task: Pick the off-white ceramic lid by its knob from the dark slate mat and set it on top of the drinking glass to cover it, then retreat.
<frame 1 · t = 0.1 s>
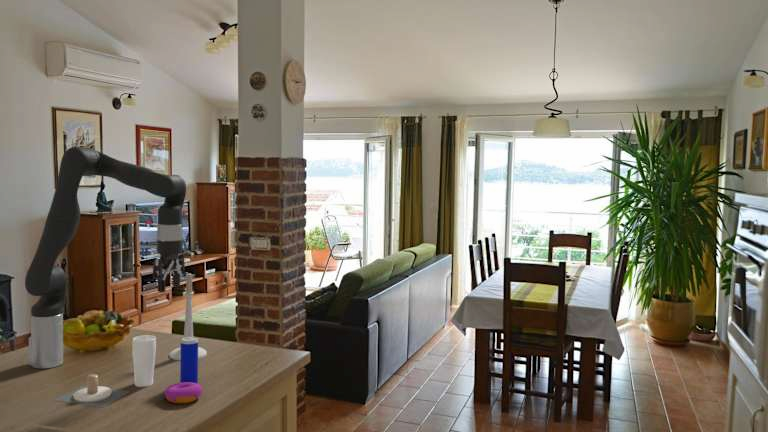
hand: (169, 289, 189), 29 cm above the table, fingers open, 8 cm apart
drinking glass: (144, 386, 185), on the table
mat: (92, 397, 174), on the table
beverage can: (188, 386, 187), on the table
donut: (183, 400, 176), on the table
lid: (92, 395, 174), point 1 cm above the table, touching mat
candlestick: (188, 355, 216), on the table
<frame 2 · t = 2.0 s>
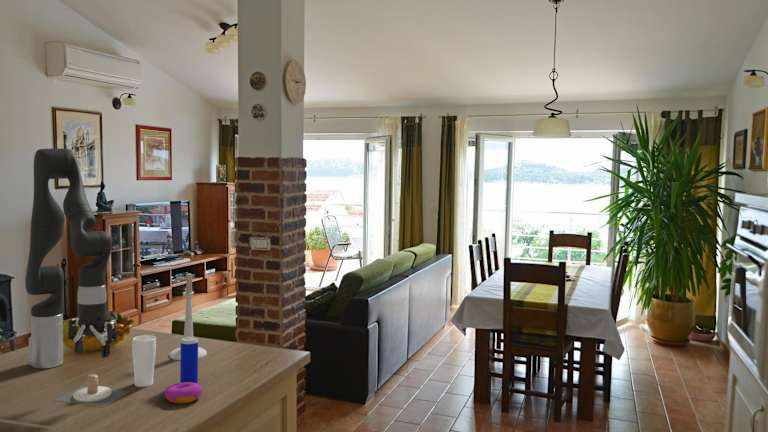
hand: (92, 355, 173), 13 cm above the table, fingers open, 8 cm apart
nothing on the table moved.
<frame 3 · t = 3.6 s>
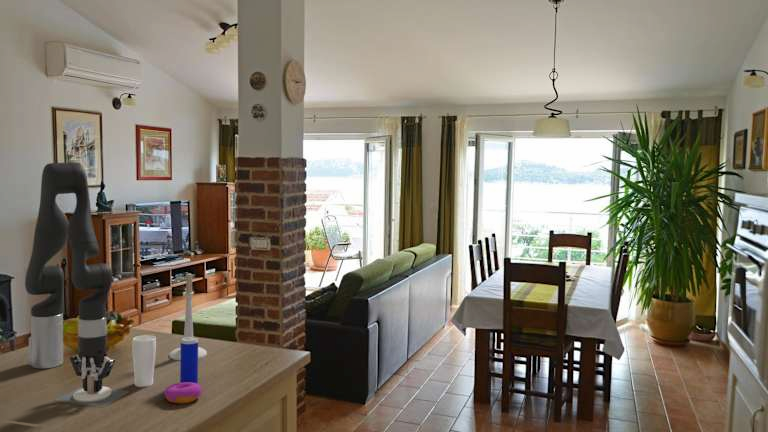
hand: (92, 390, 174), 2 cm above the table, fingers closed on lid, 2 cm apart
lid: (92, 395, 174), point 1 cm above the table, touching gripper, mat
everything else where it was.
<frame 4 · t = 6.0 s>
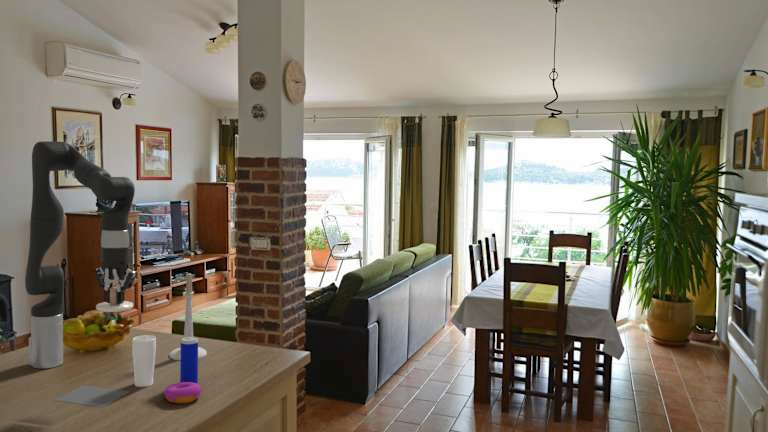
hand: (115, 302, 177), 27 cm above the table, fingers closed on lid, 2 cm apart
lid: (114, 307, 177), point 26 cm above the table, touching gripper
everything else where it was.
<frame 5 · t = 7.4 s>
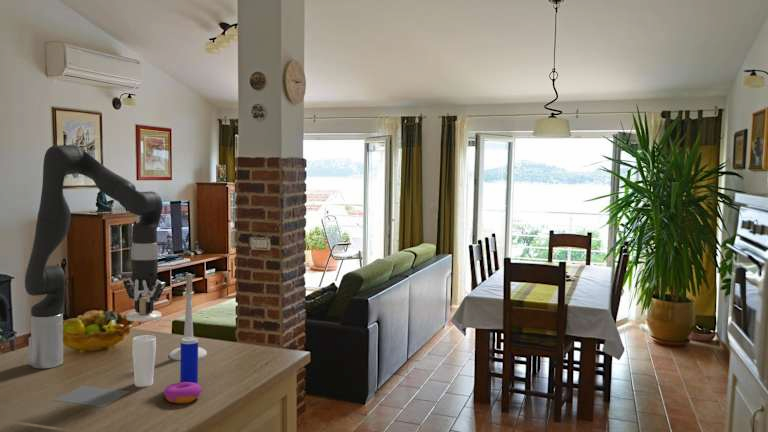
hand: (144, 312, 184), 23 cm above the table, fingers closed on lid, 2 cm apart
lid: (144, 317, 184), point 21 cm above the table, touching gripper
everything else where it was.
when the fingers open (18 cm above the table, at t = 8.5 s): lid drops 2 cm, resting on drinking glass.
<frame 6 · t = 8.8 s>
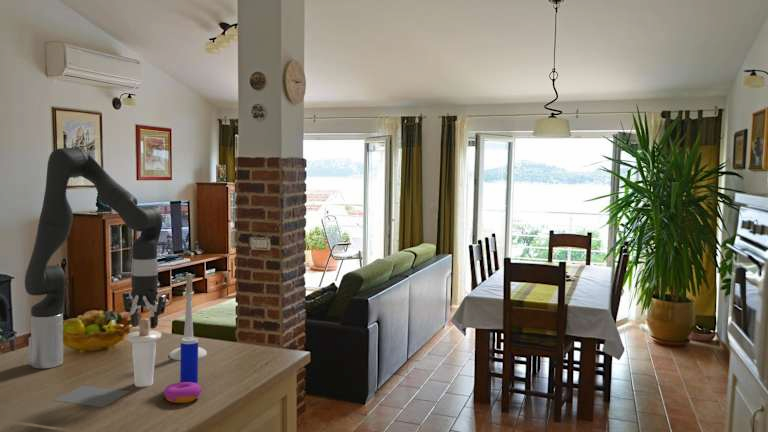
hand: (144, 326, 184), 19 cm above the table, fingers open, 5 cm apart
drinking glass: (144, 386, 185), on the table, touching lid
lid: (144, 338, 184), point 15 cm above the table, touching drinking glass
everything else where it was.
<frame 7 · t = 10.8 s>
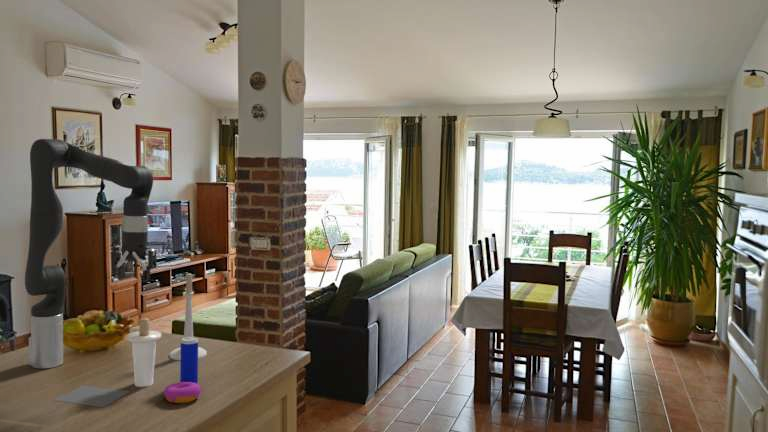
hand: (133, 280, 190), 32 cm above the table, fingers open, 8 cm apart
nothing on the table moved.
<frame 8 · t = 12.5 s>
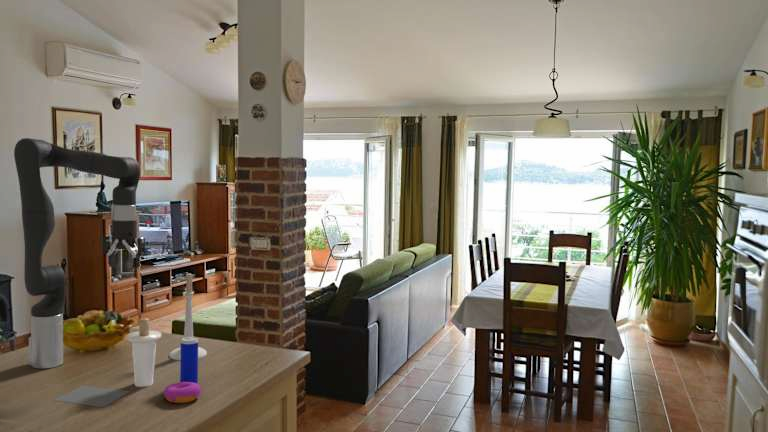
hand: (124, 267, 197), 34 cm above the table, fingers open, 8 cm apart
nothing on the table moved.
at the end: lid 0.0 cm off-centre on the drinking glass, point 15.2 cm above the drinking glass's base; the gripper is holding nothing; drinking glass tilted 0° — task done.
